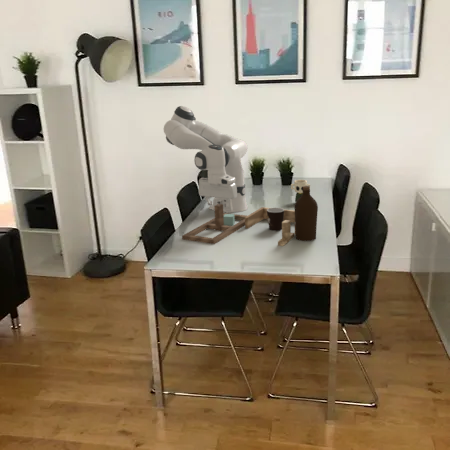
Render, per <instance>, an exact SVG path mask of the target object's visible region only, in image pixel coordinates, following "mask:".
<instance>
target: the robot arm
mask: <svg viewBox="0 0 450 450" xmlns="http://www.w3.org/2000/svg"><path fill="white" fill-rule="evenodd" d="M173 112H174V113H173V115H172V117H171V119H170V120H168V121H166V122H165V124H164V125H163V133H164V135H165V139H166V142H167V143H169V144H170V145H172V146H175V147H176V148H177V149H181V150H199V151H197V152H196V154H195V155H194V160H193V161H194V165H195V167H196V168H197V169H198V170H200V171H207V177H201V178H199V180H198V195H199V196H200V197H204V199H205V200H206V202H207V206H209V207H208V210H210V209H212V210H211V211H215V207H214V206H215V205H217V204H223V213H225V212H226V213H229V214H233V213H239V212H241V213H242V212H244V211H247V210H248V209H249V206H248V204H247V199H246V184H245V171H244V168H243V164H242V162H241V161H242V158H243V157H245V155H246V154H247V152H248V145H247V143H246V141H244V140H243V139H239V138H236V137H234V136H231V135H229V134H226V133H224V132H221V131H219V130H218V129H215V128H213V127H212V126H210V125H208V124H207V123H204V122H202V121H199V120H196V117H195V114H194V113H193V112H194V111H192V110H191V108H189V107H187V106H183V105H180V106H177V107H176V108H175V110H174V111H173ZM210 198H213V200H211V199H210Z"/></svg>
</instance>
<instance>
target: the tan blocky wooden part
mask: <svg viewBox="0 0 450 450" xmlns="http://www.w3.org/2000/svg"><path fill="white" fill-rule="evenodd" d="M291 223H292V222H291V221H290V220H285V221H283V222H282V230H281V238H280V239H279V240H278V241H277V247H278V246H280V247H284V246H285V245H286V244H287V243H289V242H290V241H291V240H292V239H294V238H295V232H291V231H292V230H291V229H292V227H291V226H292V224H291Z"/></svg>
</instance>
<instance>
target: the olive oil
mask: <svg viewBox="0 0 450 450" xmlns="http://www.w3.org/2000/svg"><path fill="white" fill-rule="evenodd" d="M318 210H319V205H318V202H317V201H316V199H315V198H314V197H312V195H311V185H310V186H303V194H302V196H301V197H300V198H299V199H298V200H297V201H296V202H295V204H294V211H295V223H294V231H295V230H296V235H295V239H296V240H297V241H300V242H301V241H302V242H310V241H311V242H312V241H314V240H316V239H317V226H318V223H317V222H318Z"/></svg>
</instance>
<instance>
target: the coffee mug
mask: <svg viewBox="0 0 450 450" xmlns="http://www.w3.org/2000/svg"><path fill="white" fill-rule="evenodd" d="M268 208H269V209H267V216H268V219H267V222H268V230H269V231H272V232H277V231H282V222H283V217H284V210H285V209H284V208H282V207H268Z"/></svg>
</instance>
